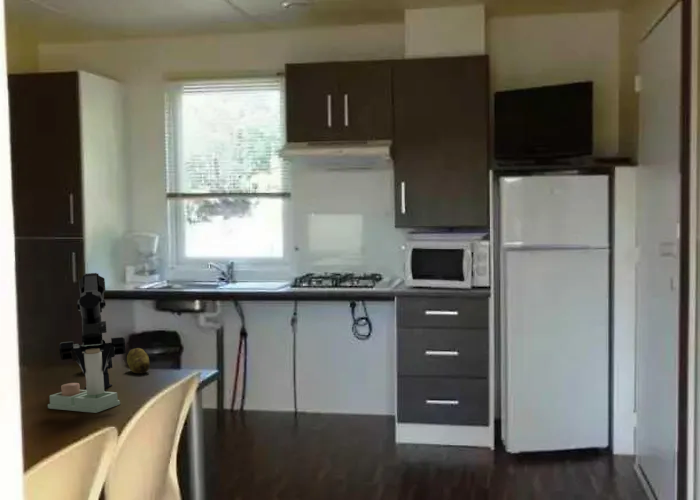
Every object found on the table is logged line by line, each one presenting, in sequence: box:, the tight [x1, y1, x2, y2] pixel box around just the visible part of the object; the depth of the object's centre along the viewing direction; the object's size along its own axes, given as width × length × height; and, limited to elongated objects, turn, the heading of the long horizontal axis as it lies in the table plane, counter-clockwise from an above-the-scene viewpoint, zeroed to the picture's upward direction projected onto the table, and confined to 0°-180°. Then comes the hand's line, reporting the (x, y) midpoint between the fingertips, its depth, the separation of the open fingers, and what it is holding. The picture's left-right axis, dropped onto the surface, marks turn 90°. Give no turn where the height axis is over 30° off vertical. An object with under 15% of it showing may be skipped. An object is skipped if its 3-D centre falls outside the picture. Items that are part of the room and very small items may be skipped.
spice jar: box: [84, 348, 106, 395], centre depth 240 cm, size 5×5×13 cm
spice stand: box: [47, 382, 121, 414], centre depth 243 cm, size 19×10×6 cm, turn 63°
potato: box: [126, 347, 151, 374], centre depth 291 cm, size 8×13×8 cm, turn 11°
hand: (93, 371), depth 239 cm, fingers closed on spice jar, 5 cm apart
